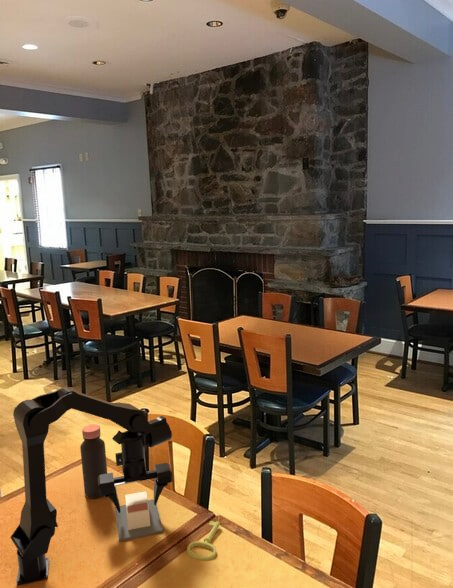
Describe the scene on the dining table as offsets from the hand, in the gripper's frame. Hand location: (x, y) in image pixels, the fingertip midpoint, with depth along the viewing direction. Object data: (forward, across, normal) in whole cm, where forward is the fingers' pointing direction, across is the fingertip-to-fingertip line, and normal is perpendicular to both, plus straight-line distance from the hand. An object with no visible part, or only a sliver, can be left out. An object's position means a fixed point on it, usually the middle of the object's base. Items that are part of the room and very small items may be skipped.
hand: (137, 508), depth 128 cm
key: (+4, -15, +15) cm, 21 cm away
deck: (+3, 0, 0) cm, 3 cm away
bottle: (+4, +10, -17) cm, 20 cm away
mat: (+4, 0, 0) cm, 4 cm away
